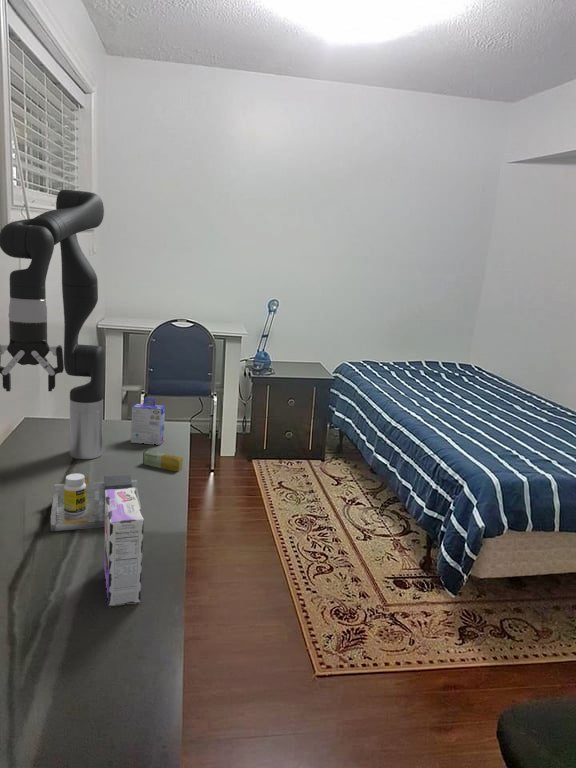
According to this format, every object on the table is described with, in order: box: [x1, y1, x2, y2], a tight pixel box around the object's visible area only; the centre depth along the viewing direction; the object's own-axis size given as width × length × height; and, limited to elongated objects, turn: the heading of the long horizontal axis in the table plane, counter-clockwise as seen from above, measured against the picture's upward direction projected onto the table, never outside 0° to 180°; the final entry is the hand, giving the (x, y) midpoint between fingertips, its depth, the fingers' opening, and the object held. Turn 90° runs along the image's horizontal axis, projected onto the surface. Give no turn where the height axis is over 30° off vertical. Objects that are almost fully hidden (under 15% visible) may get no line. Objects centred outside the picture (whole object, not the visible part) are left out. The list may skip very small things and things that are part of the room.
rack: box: [50, 474, 142, 532], centre depth 127 cm, size 14×19×8 cm
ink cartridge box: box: [130, 397, 166, 446], centre depth 178 cm, size 10×6×14 cm, turn 89°
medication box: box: [142, 449, 184, 472], centre depth 159 cm, size 12×3×4 cm, turn 72°
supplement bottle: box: [64, 473, 86, 515], centre depth 124 cm, size 5×5×8 cm
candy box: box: [103, 487, 145, 607], centre depth 100 cm, size 14×6×16 cm, turn 21°
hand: (29, 390), depth 123 cm, fingers open, 8 cm apart
